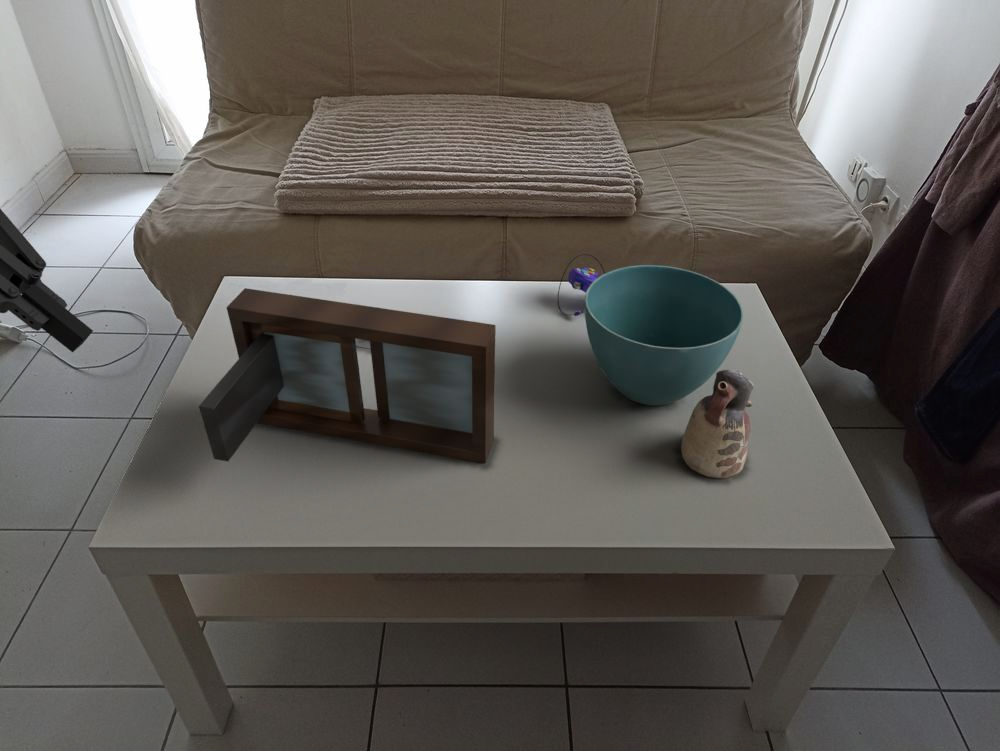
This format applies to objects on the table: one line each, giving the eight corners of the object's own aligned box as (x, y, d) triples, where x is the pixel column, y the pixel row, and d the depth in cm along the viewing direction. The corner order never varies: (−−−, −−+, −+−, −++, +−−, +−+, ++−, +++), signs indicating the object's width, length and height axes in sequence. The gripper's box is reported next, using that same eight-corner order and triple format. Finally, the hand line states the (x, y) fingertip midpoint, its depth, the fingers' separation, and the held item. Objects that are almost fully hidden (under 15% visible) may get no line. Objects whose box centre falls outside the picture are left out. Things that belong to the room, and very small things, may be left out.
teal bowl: (549, 393, 93) (555, 310, 86) (619, 327, 105) (630, 249, 98) (684, 455, 85) (704, 369, 78) (744, 376, 97) (766, 294, 89)
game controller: (632, 265, 111) (641, 288, 102) (610, 313, 115) (617, 339, 106) (569, 243, 110) (573, 264, 101) (549, 292, 114) (551, 317, 105)
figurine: (756, 459, 85) (783, 375, 77) (719, 489, 81) (744, 404, 74) (704, 427, 89) (725, 344, 82) (667, 454, 85) (685, 370, 78)
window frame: (254, 422, 88) (226, 307, 78) (270, 401, 91) (244, 287, 81) (485, 463, 83) (486, 346, 74) (493, 439, 87) (495, 324, 77)
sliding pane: (212, 483, 78) (184, 390, 70) (272, 402, 88) (252, 314, 81) (316, 503, 76) (298, 410, 68) (365, 419, 86) (354, 330, 79)
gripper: (-96, 157, 73) (108, 324, 80) (-226, 215, 63) (21, 399, 70) (-75, 107, 69) (139, 288, 76) (-210, 161, 59) (51, 363, 66)
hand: (82, 341), depth 73 cm, fingers closed
